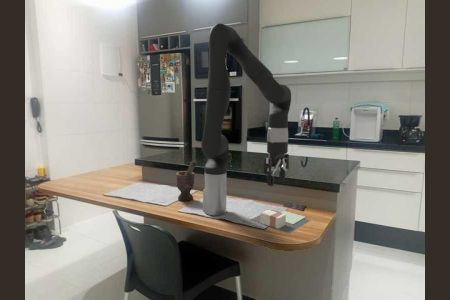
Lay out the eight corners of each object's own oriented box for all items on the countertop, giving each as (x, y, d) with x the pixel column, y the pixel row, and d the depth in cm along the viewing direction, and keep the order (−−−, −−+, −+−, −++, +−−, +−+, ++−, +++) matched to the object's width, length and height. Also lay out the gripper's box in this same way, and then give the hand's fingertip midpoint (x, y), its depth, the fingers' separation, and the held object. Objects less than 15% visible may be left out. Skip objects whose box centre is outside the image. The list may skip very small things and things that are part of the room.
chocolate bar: (305, 204, 136) (298, 218, 120) (305, 206, 136) (298, 220, 120) (285, 202, 140) (276, 214, 124) (285, 204, 140) (275, 217, 124)
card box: (260, 223, 115) (260, 212, 114) (267, 219, 119) (268, 209, 118) (278, 228, 109) (278, 218, 109) (285, 224, 113) (286, 214, 113)
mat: (249, 221, 118) (249, 219, 118) (273, 210, 131) (274, 208, 131) (289, 234, 106) (289, 232, 106) (312, 220, 119) (312, 218, 119)
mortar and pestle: (203, 198, 146) (203, 158, 143) (194, 204, 138) (194, 161, 135) (182, 195, 150) (182, 156, 148) (173, 200, 143) (172, 159, 140)
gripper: (278, 137, 118) (277, 178, 120) (258, 141, 107) (257, 185, 109) (295, 139, 113) (294, 181, 115) (276, 142, 102) (275, 189, 104)
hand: (276, 183), depth 112 cm, fingers open, 8 cm apart
